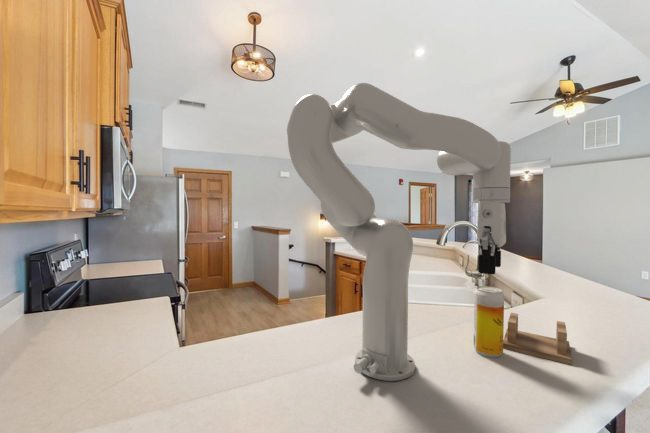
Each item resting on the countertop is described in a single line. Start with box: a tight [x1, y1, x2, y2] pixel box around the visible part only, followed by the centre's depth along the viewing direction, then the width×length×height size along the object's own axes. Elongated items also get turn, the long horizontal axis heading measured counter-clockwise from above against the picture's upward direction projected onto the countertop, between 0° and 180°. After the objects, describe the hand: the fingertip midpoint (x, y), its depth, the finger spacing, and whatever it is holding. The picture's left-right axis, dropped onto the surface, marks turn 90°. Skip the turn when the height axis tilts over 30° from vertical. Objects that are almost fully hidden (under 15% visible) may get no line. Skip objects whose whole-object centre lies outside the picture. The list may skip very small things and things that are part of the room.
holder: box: [503, 312, 573, 366], centre depth 72 cm, size 11×13×6 cm
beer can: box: [473, 285, 505, 359], centre depth 70 cm, size 6×6×15 cm
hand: (490, 269), depth 69 cm, fingers open, 9 cm apart
